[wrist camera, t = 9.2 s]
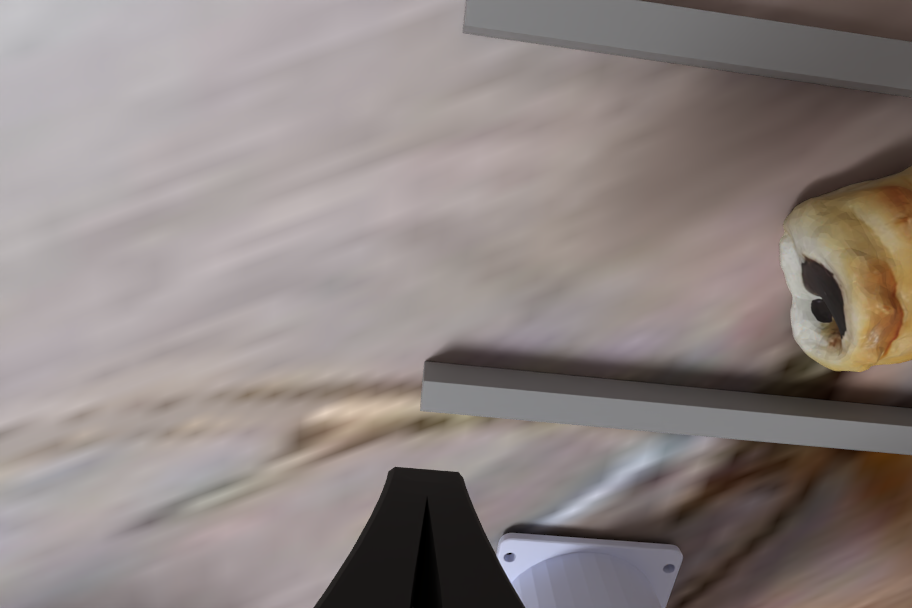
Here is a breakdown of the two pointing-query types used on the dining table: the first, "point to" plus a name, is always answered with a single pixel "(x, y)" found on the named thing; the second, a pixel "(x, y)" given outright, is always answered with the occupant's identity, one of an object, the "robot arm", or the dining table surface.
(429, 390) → the bay
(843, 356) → the pastry
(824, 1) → the dining table surface
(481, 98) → the dining table surface
